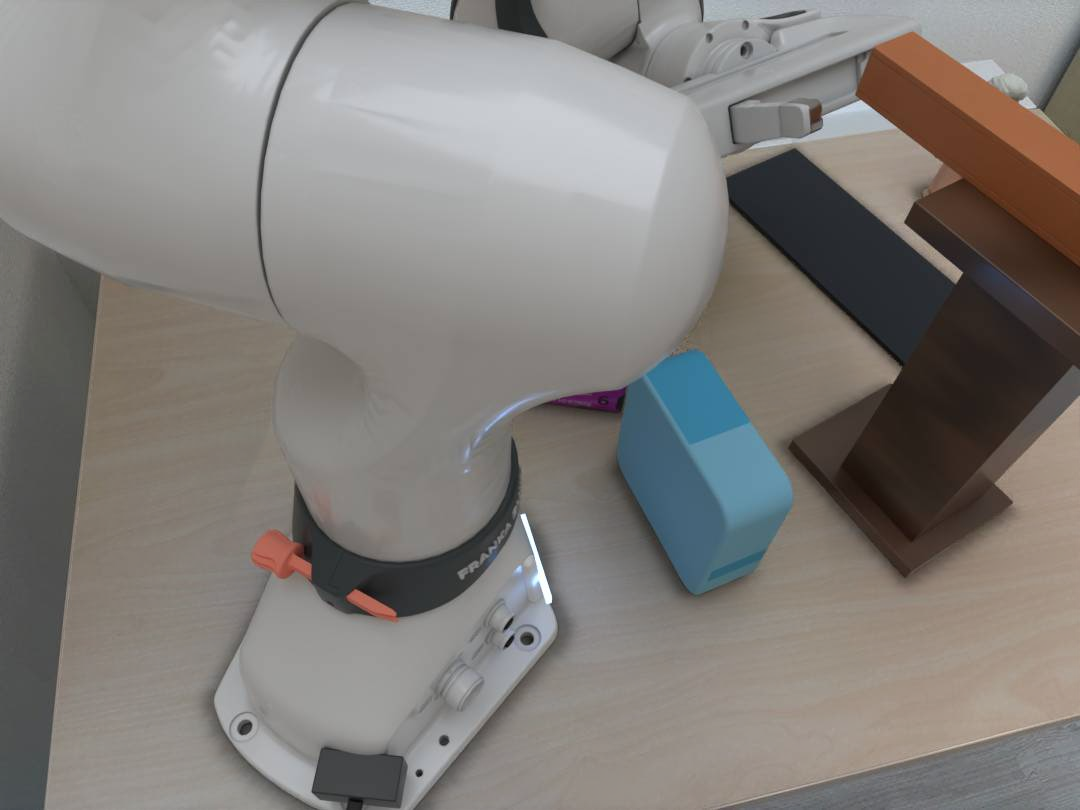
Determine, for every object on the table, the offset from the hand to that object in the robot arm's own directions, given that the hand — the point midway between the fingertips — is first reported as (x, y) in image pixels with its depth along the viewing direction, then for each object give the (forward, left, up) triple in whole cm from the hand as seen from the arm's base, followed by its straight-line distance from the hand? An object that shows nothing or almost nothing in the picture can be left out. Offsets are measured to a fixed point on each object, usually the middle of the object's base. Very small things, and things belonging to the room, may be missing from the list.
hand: (875, 93), depth 48 cm
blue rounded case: (-17, +1, -24) cm, 30 cm away
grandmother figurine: (+26, -8, -24) cm, 36 cm away
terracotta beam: (-5, -8, 0) cm, 10 cm away
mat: (+14, -2, -24) cm, 28 cm away
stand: (-7, -12, -24) cm, 28 cm away
